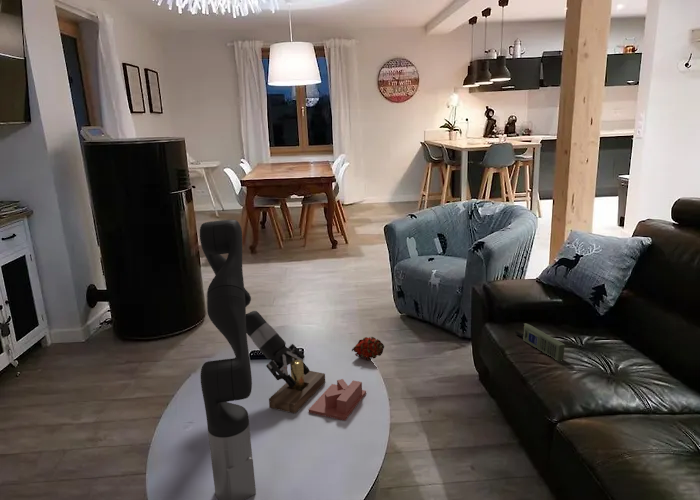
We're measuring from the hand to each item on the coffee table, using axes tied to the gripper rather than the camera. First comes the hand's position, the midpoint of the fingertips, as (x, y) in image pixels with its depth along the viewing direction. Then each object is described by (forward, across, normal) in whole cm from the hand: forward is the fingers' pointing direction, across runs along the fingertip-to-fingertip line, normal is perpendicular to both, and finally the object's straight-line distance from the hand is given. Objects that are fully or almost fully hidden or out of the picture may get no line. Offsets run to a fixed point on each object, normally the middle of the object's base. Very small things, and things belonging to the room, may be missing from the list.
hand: (301, 379), depth 157 cm
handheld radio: (+51, +61, -42) cm, 90 cm away
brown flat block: (+3, 0, +5) cm, 6 cm away
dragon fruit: (+11, +31, -3) cm, 33 cm away
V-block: (+12, 0, -4) cm, 13 cm away
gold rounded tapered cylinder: (+3, 0, +5) cm, 6 cm away
